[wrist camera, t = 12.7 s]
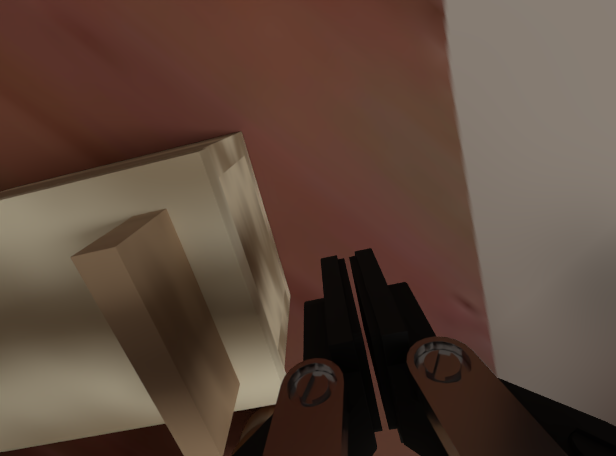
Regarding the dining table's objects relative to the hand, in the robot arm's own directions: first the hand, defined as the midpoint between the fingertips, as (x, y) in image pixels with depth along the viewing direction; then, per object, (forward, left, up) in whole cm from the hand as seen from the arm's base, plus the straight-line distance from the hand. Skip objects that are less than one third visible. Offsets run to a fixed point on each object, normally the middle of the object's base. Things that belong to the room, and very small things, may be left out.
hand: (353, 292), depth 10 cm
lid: (0, +12, -8) cm, 14 cm away
